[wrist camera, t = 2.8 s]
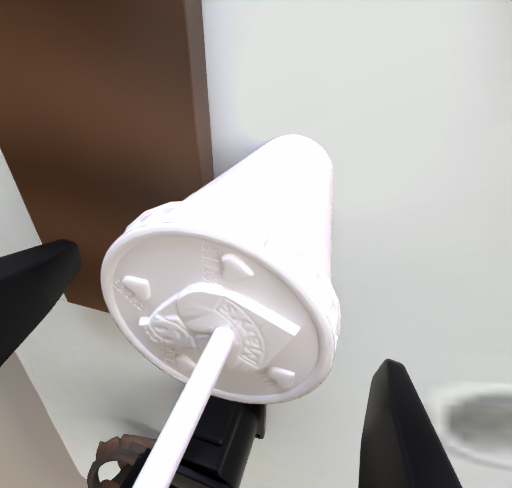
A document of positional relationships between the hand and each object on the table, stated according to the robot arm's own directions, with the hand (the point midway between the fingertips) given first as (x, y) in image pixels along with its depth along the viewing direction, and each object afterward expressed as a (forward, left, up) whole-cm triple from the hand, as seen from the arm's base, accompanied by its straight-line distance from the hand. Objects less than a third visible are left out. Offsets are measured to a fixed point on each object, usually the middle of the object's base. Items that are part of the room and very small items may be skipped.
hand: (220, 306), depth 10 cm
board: (-2, +10, -9) cm, 13 cm away
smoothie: (0, 0, -9) cm, 9 cm away
